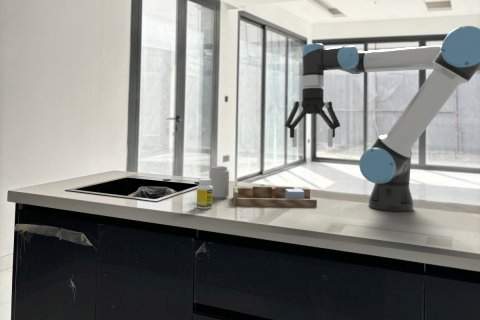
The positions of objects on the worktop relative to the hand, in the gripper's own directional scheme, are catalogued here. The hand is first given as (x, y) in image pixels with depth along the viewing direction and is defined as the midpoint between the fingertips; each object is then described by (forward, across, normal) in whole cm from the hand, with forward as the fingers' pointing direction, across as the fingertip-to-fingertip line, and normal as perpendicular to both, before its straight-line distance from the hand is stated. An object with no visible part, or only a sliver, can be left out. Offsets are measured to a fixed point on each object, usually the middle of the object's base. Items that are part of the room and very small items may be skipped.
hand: (312, 147), depth 153 cm
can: (+20, +33, -14) cm, 41 cm away
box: (+20, +14, -4) cm, 25 cm away
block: (+21, +6, -1) cm, 22 cm away
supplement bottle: (+20, +40, +5) cm, 45 cm away
